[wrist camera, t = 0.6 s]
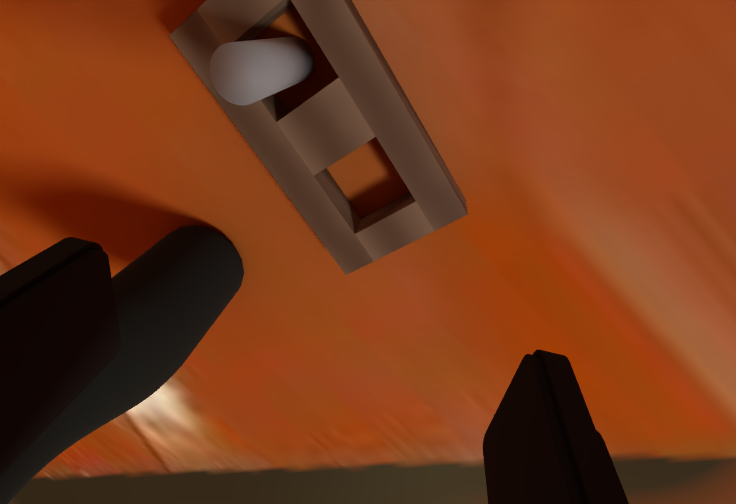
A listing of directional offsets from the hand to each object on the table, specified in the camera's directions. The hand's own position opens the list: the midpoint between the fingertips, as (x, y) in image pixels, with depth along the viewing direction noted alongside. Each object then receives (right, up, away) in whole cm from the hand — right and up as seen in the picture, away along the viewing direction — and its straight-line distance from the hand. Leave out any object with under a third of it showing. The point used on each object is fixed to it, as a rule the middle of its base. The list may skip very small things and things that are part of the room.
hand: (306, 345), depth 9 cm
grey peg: (-4, +16, +21) cm, 26 cm away
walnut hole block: (-1, +12, +22) cm, 25 cm away
